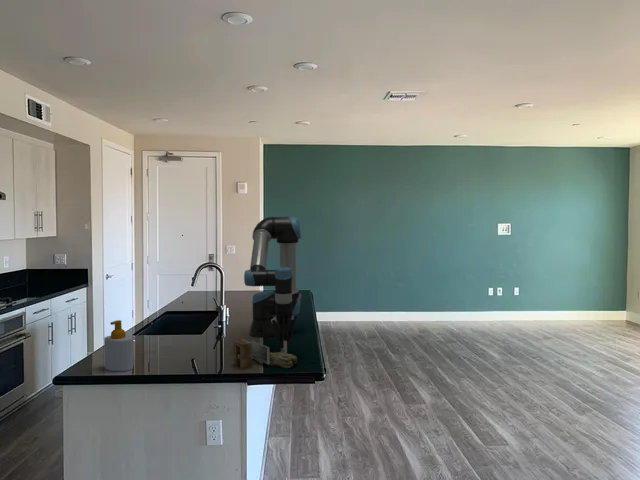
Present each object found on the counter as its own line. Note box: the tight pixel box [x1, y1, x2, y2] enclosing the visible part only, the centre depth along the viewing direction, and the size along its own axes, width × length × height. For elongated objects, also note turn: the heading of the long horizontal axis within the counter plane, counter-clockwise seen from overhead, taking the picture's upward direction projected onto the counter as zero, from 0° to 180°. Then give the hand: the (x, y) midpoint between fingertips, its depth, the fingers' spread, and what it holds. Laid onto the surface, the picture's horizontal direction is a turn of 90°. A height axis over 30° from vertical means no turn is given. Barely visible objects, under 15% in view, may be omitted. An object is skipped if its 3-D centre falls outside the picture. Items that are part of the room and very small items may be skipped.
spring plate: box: [238, 340, 270, 365], centre depth 196 cm, size 10×14×7 cm
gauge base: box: [233, 338, 255, 370], centre depth 199 cm, size 12×12×10 cm
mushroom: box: [267, 351, 298, 369], centre depth 197 cm, size 14×10×5 cm, turn 63°
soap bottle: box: [103, 319, 134, 372], centre depth 192 cm, size 13×8×20 cm, turn 69°
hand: (283, 354), depth 203 cm, fingers closed
